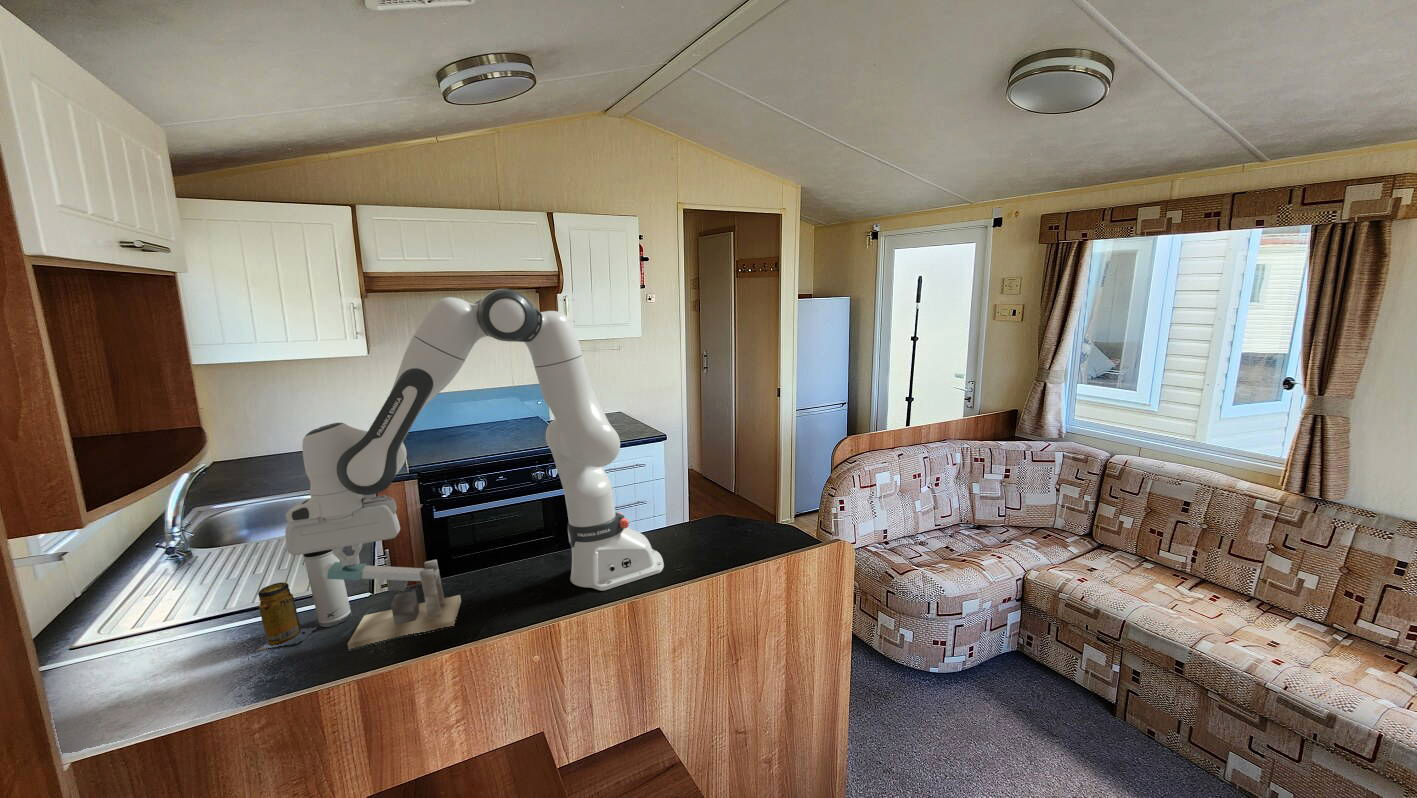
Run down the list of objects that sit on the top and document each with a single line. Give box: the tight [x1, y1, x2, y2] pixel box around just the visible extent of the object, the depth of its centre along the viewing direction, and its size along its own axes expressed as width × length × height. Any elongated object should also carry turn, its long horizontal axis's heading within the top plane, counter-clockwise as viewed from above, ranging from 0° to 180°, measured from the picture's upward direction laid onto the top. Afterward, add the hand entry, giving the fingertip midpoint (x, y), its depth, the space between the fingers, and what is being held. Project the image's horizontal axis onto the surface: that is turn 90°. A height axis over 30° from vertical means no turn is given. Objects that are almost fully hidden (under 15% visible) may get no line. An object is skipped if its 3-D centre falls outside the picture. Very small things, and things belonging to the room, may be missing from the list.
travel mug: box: [302, 549, 352, 625], centre depth 131 cm, size 6×7×20 cm
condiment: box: [257, 581, 302, 651], centre depth 126 cm, size 7×8×12 cm
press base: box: [347, 559, 462, 650], centre depth 126 cm, size 20×12×12 cm, turn 106°
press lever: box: [323, 561, 440, 592], centre depth 125 cm, size 22×4×4 cm, turn 106°
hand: (351, 565), depth 123 cm, fingers closed
